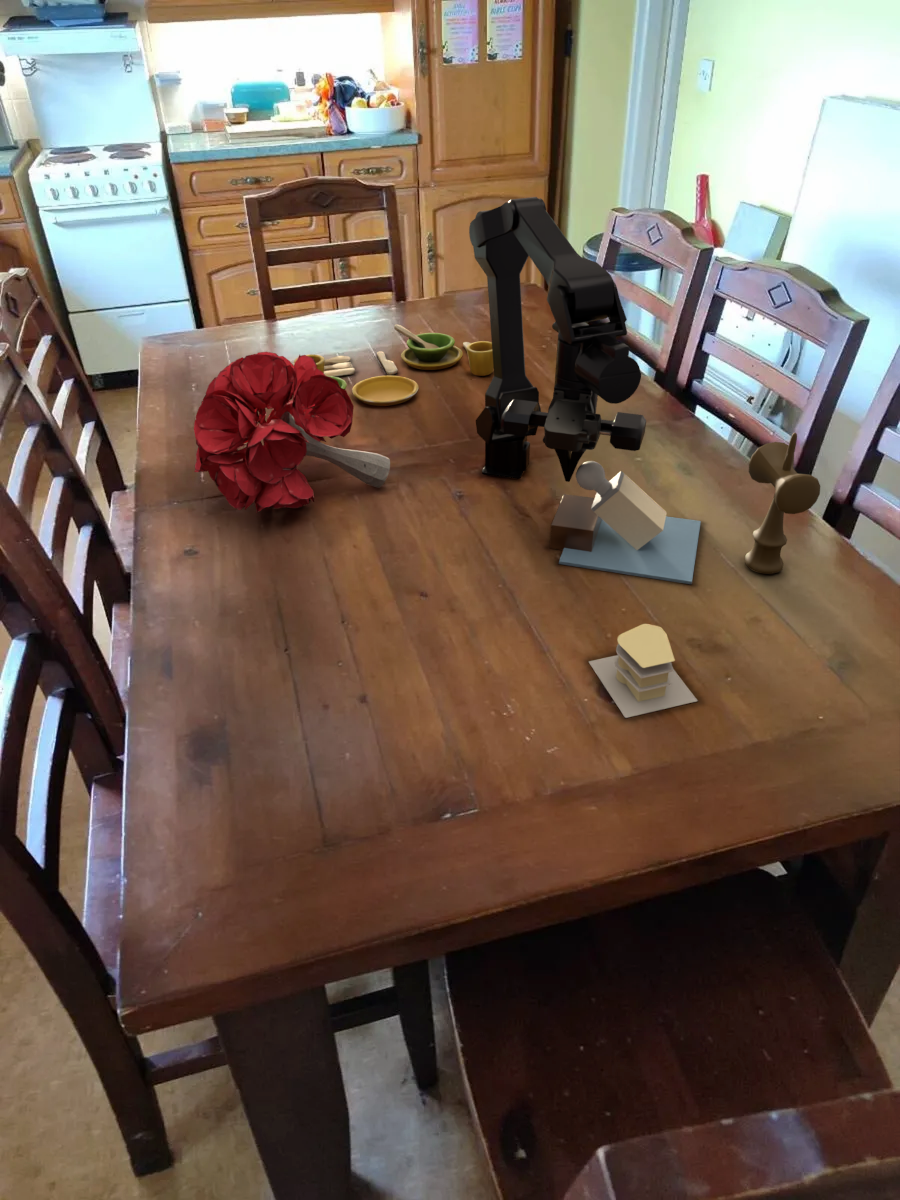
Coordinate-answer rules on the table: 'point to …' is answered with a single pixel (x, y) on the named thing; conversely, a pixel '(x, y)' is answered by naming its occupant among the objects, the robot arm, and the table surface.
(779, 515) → the kendama
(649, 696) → the stacked layers on plate
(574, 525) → the walnut block
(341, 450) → the bouquet
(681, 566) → the placemat
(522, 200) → the robot arm
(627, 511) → the salt mill
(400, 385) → the tableware set
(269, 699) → the table surface
